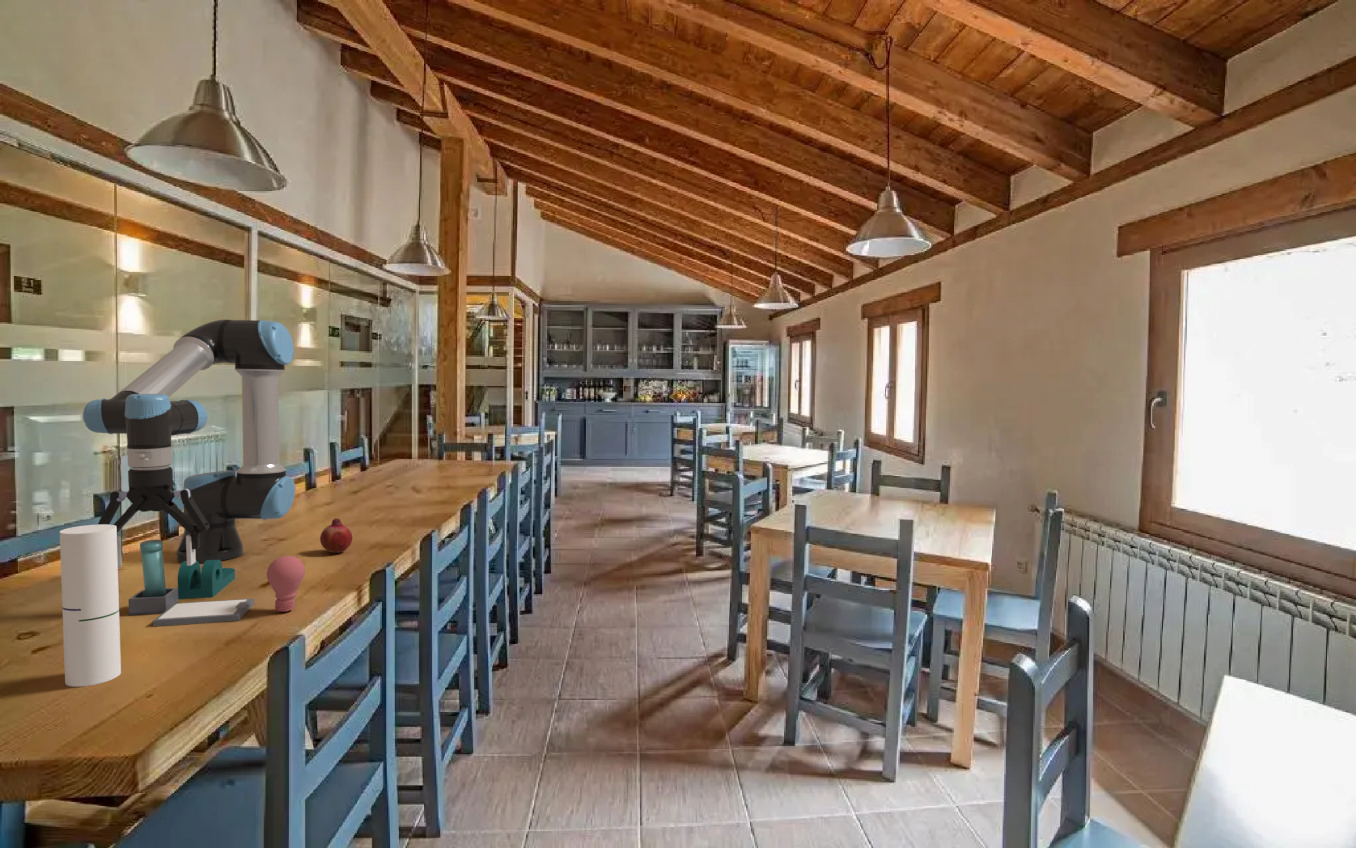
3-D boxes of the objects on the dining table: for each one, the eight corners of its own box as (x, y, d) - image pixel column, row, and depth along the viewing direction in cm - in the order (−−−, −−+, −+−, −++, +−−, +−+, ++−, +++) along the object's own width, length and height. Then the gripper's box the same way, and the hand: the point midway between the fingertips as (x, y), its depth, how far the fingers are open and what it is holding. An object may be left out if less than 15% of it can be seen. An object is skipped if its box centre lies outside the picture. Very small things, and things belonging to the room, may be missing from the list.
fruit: (347, 548, 205) (346, 514, 204) (356, 553, 199) (356, 519, 198) (317, 552, 199) (316, 517, 199) (325, 558, 193) (325, 522, 193)
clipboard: (175, 608, 150) (174, 600, 150) (254, 603, 155) (254, 595, 155) (153, 626, 140) (152, 617, 140) (238, 620, 144) (238, 612, 144)
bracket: (212, 598, 158) (211, 564, 158) (178, 600, 157) (177, 565, 156) (239, 576, 176) (238, 545, 175) (208, 577, 174) (207, 546, 173)
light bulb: (313, 608, 153) (312, 554, 152) (285, 618, 146) (284, 562, 145) (288, 604, 155) (287, 550, 154) (259, 614, 148) (258, 558, 147)
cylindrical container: (86, 668, 120) (82, 524, 118) (131, 668, 120) (127, 524, 119) (53, 687, 113) (47, 533, 111) (100, 686, 113) (95, 534, 112)
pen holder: (143, 605, 152) (142, 589, 152) (178, 603, 154) (178, 587, 154) (128, 615, 146) (128, 599, 145) (166, 613, 148) (165, 597, 147)
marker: (150, 600, 152) (145, 539, 150) (170, 600, 153) (165, 539, 150) (142, 608, 149) (136, 546, 146) (162, 607, 150) (157, 545, 147)
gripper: (69, 471, 141) (74, 574, 142) (212, 468, 148) (215, 567, 150) (88, 465, 148) (93, 564, 150) (224, 463, 155) (227, 557, 157)
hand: (154, 566), depth 150 cm, fingers open, 13 cm apart
